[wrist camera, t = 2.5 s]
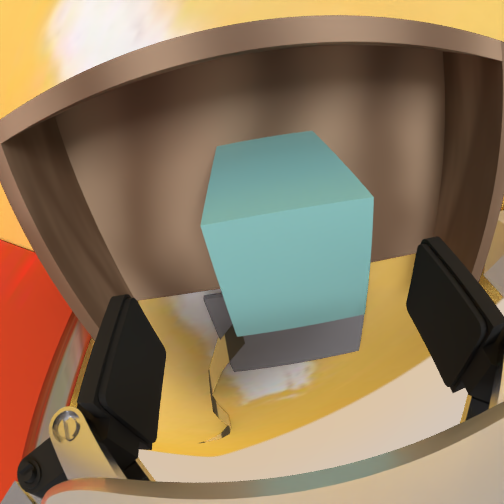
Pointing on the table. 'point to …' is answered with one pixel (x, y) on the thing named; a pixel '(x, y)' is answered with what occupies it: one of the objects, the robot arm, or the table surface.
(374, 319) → the table surface
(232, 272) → the teal block
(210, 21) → the table surface
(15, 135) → the open box
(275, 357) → the mat
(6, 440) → the file binder
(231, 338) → the curved strip
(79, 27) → the table surface
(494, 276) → the die
